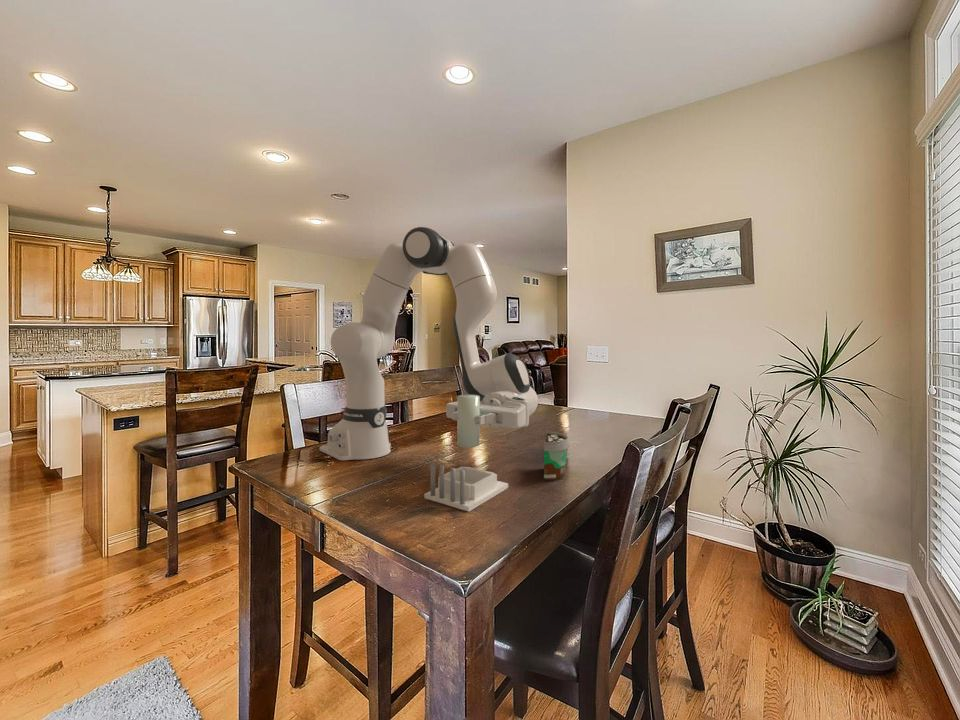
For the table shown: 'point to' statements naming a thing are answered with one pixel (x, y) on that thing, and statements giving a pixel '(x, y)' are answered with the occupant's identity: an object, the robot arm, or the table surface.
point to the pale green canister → (468, 421)
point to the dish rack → (464, 487)
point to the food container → (555, 455)
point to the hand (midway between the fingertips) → (466, 418)
